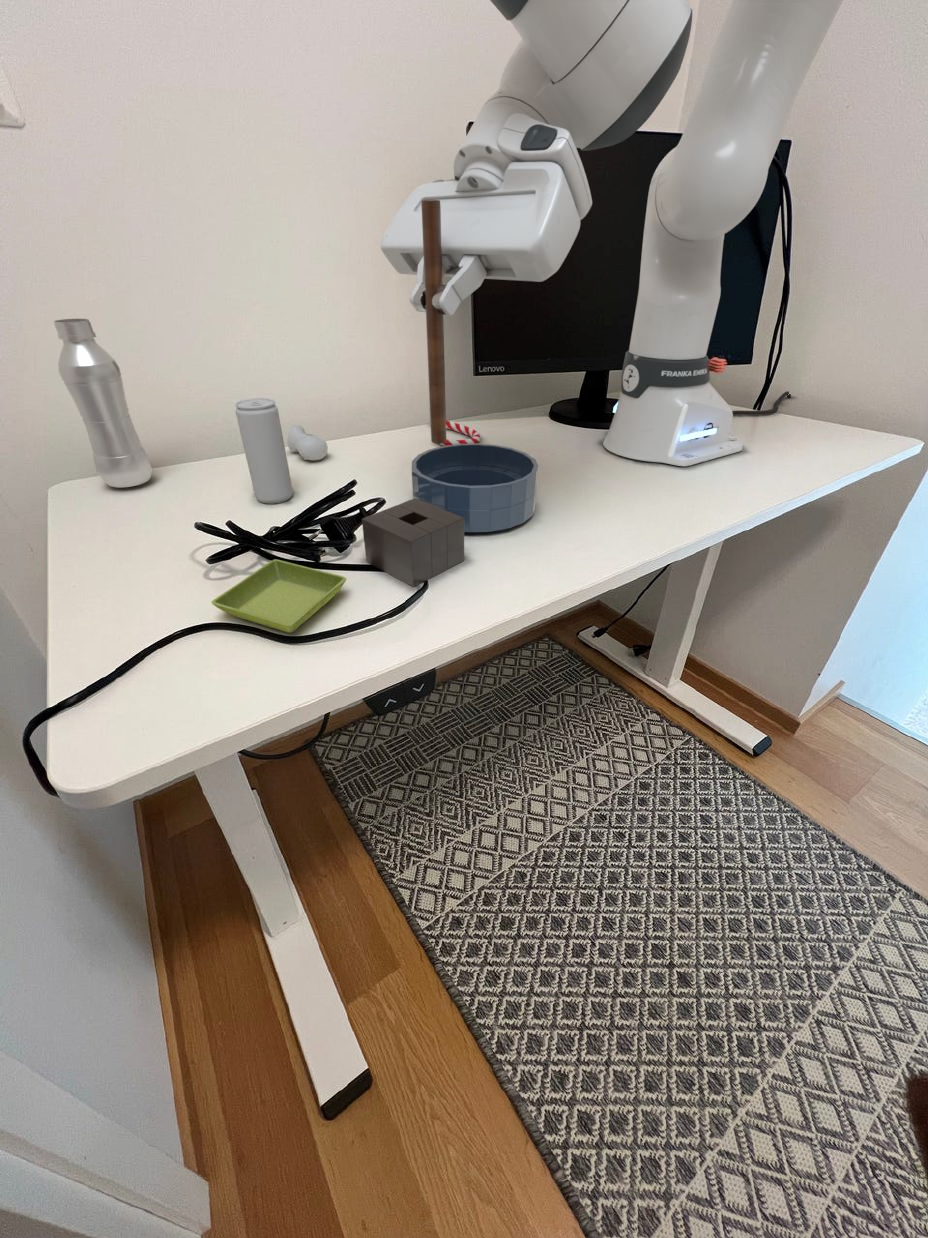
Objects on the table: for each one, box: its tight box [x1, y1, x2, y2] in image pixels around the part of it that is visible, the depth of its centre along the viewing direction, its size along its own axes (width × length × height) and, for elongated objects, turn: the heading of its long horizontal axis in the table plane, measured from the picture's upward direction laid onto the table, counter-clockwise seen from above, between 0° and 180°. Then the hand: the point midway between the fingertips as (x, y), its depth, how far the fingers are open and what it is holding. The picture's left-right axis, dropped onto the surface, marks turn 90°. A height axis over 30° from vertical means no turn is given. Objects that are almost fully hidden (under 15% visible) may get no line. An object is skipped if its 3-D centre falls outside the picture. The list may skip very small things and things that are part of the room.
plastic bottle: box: [53, 318, 153, 488], centre depth 69 cm, size 6×7×20 cm
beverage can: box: [234, 397, 294, 505], centre depth 68 cm, size 5×5×12 cm
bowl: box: [411, 443, 540, 533], centre depth 67 cm, size 15×15×6 cm
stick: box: [421, 200, 447, 445], centre depth 51 cm, size 2×2×20 cm
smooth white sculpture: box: [286, 424, 329, 461], centre depth 84 cm, size 4×8×5 cm
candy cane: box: [439, 419, 481, 447], centre depth 94 cm, size 8×1×15 cm
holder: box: [361, 498, 465, 588], centre depth 56 cm, size 7×7×5 cm
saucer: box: [211, 558, 347, 634], centre depth 50 cm, size 9×9×2 cm
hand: (429, 308), depth 49 cm, fingers closed on stick, 1 cm apart
